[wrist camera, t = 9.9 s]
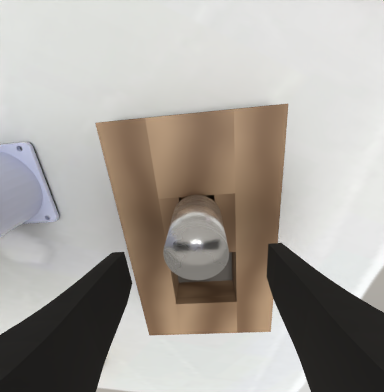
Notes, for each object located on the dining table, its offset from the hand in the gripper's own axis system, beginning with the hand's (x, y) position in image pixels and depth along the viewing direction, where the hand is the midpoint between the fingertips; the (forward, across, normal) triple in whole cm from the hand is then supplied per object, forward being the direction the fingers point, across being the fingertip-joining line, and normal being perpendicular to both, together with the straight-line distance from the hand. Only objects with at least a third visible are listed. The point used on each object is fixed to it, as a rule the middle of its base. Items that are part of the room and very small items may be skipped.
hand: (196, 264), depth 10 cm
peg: (+9, 0, 0) cm, 9 cm away
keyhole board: (+10, 0, +4) cm, 11 cm away
